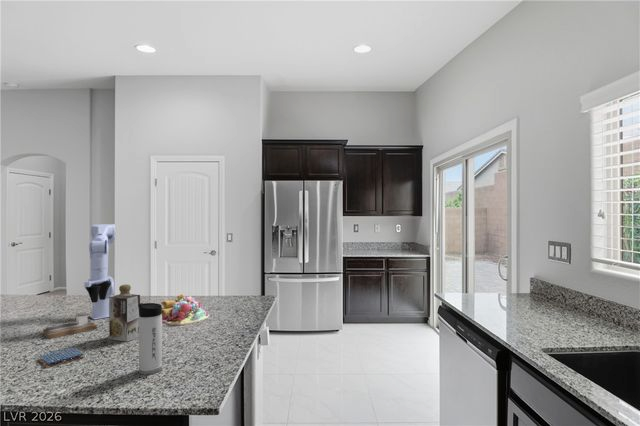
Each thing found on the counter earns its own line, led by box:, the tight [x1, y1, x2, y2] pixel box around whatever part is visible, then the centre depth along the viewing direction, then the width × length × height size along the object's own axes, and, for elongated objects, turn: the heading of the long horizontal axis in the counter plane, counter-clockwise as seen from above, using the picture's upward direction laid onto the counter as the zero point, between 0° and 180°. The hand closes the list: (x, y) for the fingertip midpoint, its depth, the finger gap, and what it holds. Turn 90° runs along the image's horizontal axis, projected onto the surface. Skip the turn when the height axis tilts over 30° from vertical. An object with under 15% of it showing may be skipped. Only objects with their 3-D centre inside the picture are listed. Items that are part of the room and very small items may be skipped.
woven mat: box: [38, 346, 85, 368], centre depth 115 cm, size 10×11×2 cm
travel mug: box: [138, 302, 163, 375], centre depth 107 cm, size 6×7×20 cm
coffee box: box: [108, 293, 141, 342], centre depth 135 cm, size 9×6×16 cm
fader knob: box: [75, 311, 89, 325], centre depth 146 cm, size 3×4×4 cm
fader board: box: [42, 318, 98, 340], centre depth 143 cm, size 16×10×2 cm, turn 137°
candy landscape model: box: [160, 293, 210, 326], centre depth 163 cm, size 25×24×9 cm
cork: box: [118, 284, 132, 294], centre depth 182 cm, size 6×6×11 cm
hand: (98, 300), depth 150 cm, fingers open, 4 cm apart
